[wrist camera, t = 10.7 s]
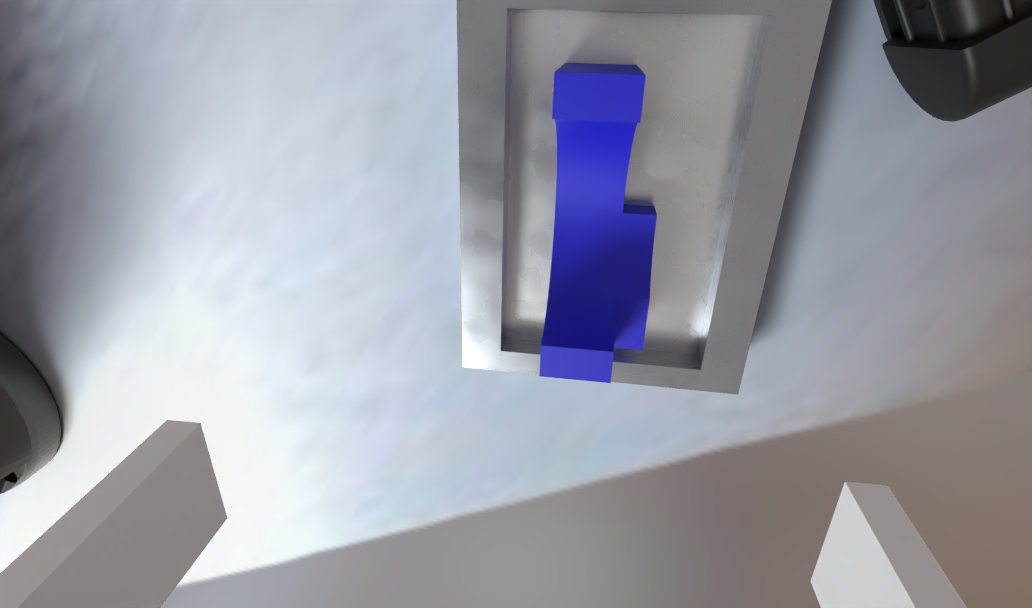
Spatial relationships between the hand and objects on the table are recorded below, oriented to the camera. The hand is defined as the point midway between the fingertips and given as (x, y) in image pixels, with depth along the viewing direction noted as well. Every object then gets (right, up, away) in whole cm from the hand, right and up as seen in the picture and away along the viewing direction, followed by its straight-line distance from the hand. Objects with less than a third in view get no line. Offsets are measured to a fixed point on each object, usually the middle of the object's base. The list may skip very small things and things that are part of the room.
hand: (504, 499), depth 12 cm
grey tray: (+5, +10, +16) cm, 19 cm away
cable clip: (+5, +9, +15) cm, 18 cm away
